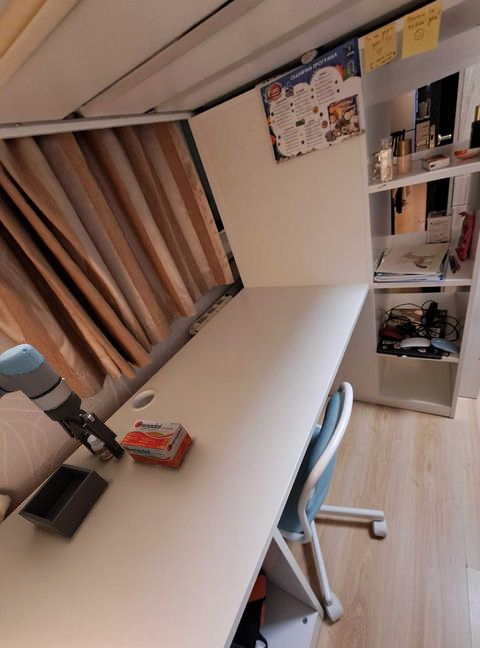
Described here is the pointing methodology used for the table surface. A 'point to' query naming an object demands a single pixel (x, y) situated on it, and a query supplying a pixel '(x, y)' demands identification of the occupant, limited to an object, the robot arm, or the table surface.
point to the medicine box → (157, 442)
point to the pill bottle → (99, 447)
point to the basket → (64, 499)
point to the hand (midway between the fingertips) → (108, 452)
